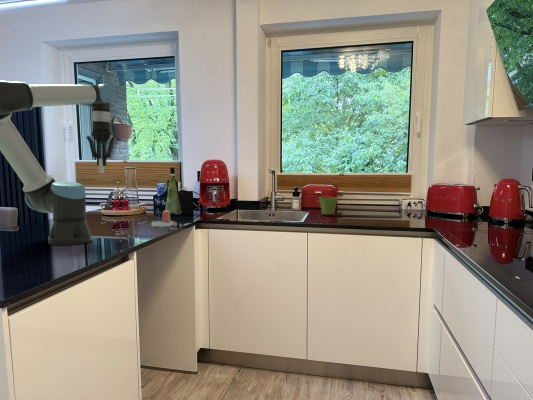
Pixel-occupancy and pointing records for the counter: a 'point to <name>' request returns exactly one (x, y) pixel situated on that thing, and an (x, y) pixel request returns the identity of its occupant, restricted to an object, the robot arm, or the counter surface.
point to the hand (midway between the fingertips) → (101, 173)
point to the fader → (166, 216)
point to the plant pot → (328, 204)
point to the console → (161, 224)
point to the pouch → (172, 197)
